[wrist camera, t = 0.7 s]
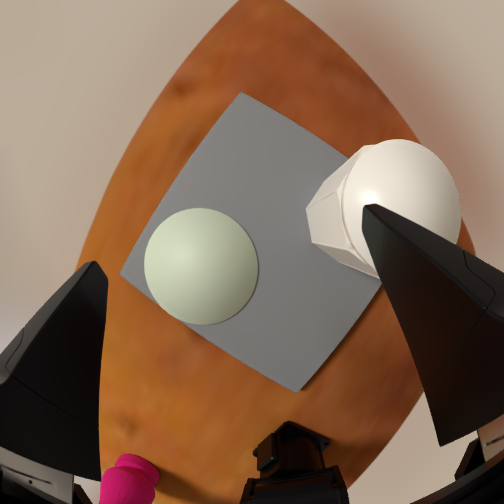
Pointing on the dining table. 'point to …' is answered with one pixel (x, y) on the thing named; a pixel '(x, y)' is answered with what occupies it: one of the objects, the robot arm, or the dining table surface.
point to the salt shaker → (382, 198)
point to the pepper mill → (129, 481)
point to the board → (252, 247)
